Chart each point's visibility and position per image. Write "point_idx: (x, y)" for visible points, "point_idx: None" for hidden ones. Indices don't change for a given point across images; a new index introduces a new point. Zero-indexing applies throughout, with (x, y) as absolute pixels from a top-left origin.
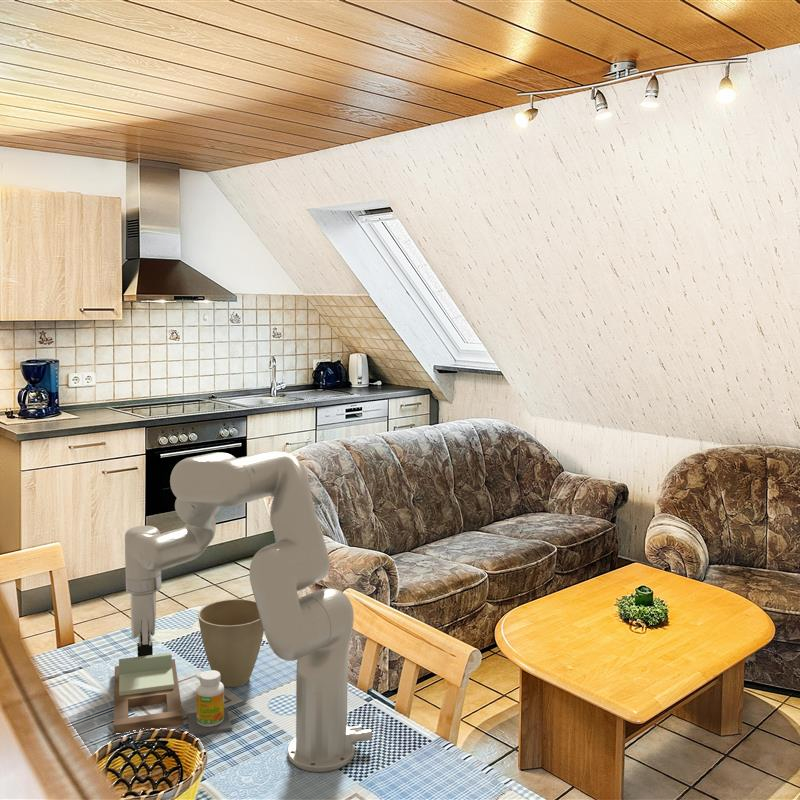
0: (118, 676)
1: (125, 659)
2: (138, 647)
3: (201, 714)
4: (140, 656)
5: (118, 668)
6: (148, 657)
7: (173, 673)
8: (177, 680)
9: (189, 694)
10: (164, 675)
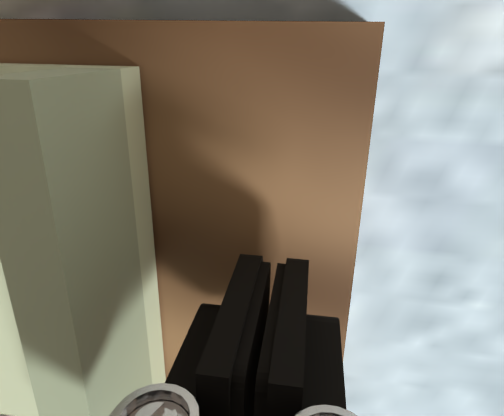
0: (151, 57)
1: (13, 166)
2: (204, 368)
3: None
4: (71, 329)
5: (321, 60)
6: (38, 389)
7: None
8: None
9: None
10: (19, 377)
